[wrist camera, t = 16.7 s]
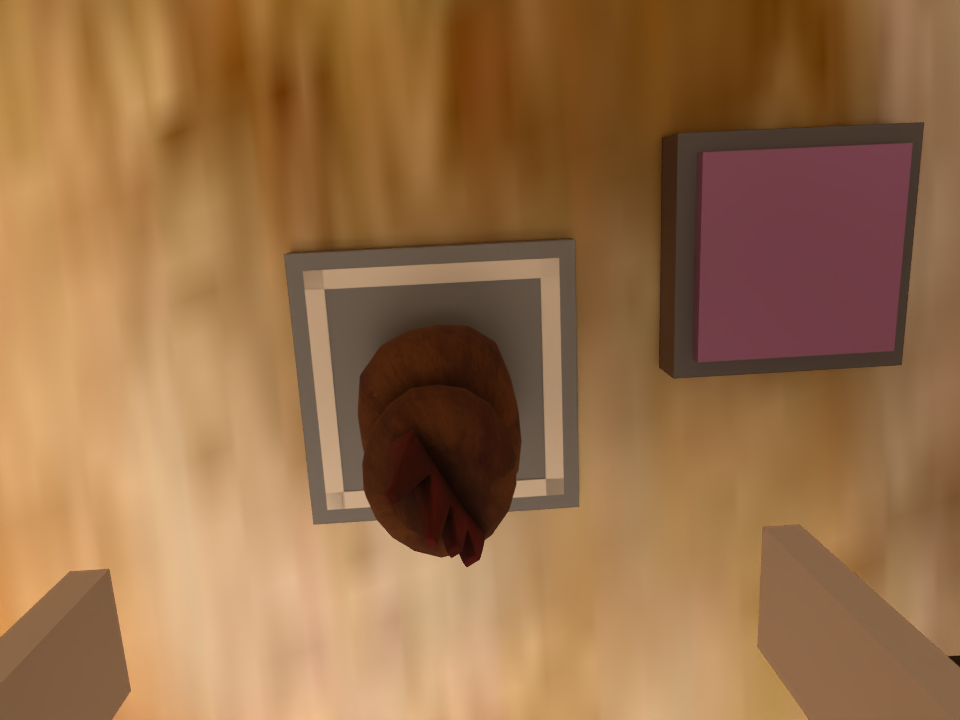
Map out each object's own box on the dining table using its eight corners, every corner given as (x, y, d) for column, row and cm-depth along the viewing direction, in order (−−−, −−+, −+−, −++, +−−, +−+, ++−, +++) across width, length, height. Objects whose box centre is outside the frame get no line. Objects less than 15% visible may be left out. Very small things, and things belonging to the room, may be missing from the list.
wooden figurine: (357, 324, 29) (269, 447, 14) (492, 298, 29) (541, 393, 14) (392, 472, 30) (345, 719, 16) (519, 447, 31) (590, 670, 16)
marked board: (569, 238, 30) (575, 240, 29) (574, 495, 33) (579, 507, 31) (290, 252, 29) (283, 254, 28) (318, 512, 32) (313, 525, 31)
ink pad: (892, 127, 30) (934, 120, 27) (873, 355, 32) (910, 368, 29) (662, 138, 29) (683, 131, 27) (659, 367, 31) (678, 381, 29)
